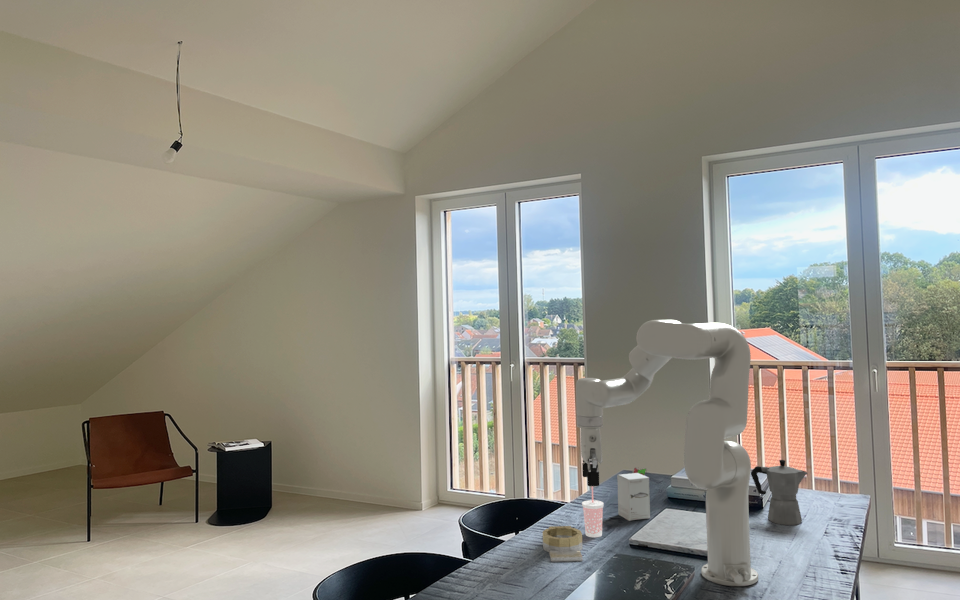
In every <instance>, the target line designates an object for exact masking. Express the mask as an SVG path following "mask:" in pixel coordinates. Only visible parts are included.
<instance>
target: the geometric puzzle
mask: <svg viewBox="0 0 960 600" xmlns="http://www.w3.org/2000/svg"><path fill="white" fill-rule="evenodd" d="M647 470H648V469H647V468H640V469H639V468H638V467H634V468H633V470H632V472H631V473H639V474H642V475H644V476H647V477H649V475H647V474H645V473H646V472H647ZM631 473H630V474H631ZM649 480H651V478H650V477H649Z"/></svg>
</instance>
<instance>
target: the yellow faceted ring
mask: <svg viewBox="0 0 960 600" xmlns="http://www.w3.org/2000/svg"><path fill="white" fill-rule="evenodd" d="M557 535H566V536H572V537H568V538H558V537H552V536H557ZM543 542H544V543H546V544H548V545H550V546H556V547H571V546H575V545H579V544H580V543H581V542H582V543H583V533H582V531H581V530H580V529H578V528H576V527H572V526H571V525H567V526H566V525H562V526H561V525H560V526H557V525H555V526H554V525H553V526H552V525H551V526H549V527H548V528H545V529H544V530H542V543H543Z"/></svg>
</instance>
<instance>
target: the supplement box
mask: <svg viewBox="0 0 960 600" xmlns="http://www.w3.org/2000/svg"><path fill="white" fill-rule="evenodd" d="M647 476H648V475H646V476H644V475H642V474H639V473H623V474H622V473H620V474H617V475H616V479H617V509H618V511H617V514H618V515H619V516H620V517H622V518H624V519H625V520H627V521H628V522H631V521H635V520H646V519H651V503H650V502H651V501H650V500H651V499H650V479H649V478H650V476H648V477H647Z"/></svg>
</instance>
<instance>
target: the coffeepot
mask: <svg viewBox="0 0 960 600" xmlns="http://www.w3.org/2000/svg"><path fill="white" fill-rule="evenodd" d="M778 461H779V465H777V466H776V465H775V466H769V467H768V466H760V465H759V466H755V467H754V468H753V469H751V473H750V477H752V480H753V483H754V485H755V487H756V490H757V493H758V494H759V495H766V494H767V491H766V490H763V489H762V484H761V482H760V480H759V479H760V478H759V475H758V473H759V474H763V475H766V477H767V482H768V483H767V484H768V488H769V492H771V497H770V501H769V505H768V515H767V519H768V521H769V522H771V523H773V524H776V525H781V526H782V525H783V526H797V525H800V524H801V523H802V522H803V518H802V514H801V510H800V505H799V501H798V499H797V494H798V493H799V485H800V484H801V482H802V480H803V479H804V478H805V477H806V475H808V472H807V471H806V470H805V471H804V470H801V469H798V468H795V467H792V466H787V465H786V460H785V459H779V460H778Z"/></svg>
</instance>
